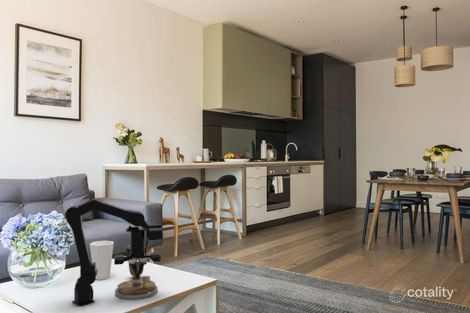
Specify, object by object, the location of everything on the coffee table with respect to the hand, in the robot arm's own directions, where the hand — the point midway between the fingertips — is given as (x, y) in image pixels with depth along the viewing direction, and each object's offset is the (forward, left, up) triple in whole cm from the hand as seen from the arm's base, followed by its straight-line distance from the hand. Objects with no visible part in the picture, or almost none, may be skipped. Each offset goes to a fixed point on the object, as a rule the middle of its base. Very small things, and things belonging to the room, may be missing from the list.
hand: (137, 278), depth 170 cm
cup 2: (+16, +22, -8) cm, 29 cm away
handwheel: (+3, +5, -6) cm, 9 cm away
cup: (+6, +36, -8) cm, 38 cm away
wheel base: (+3, +5, -8) cm, 10 cm away
